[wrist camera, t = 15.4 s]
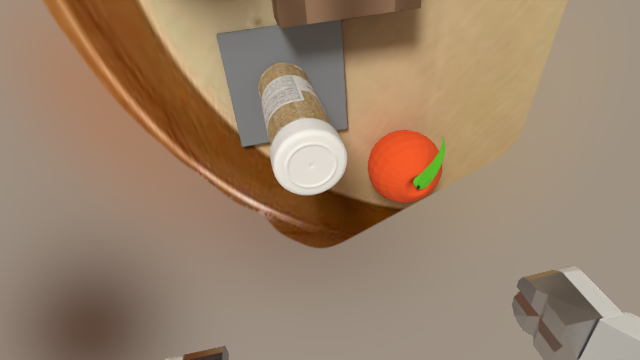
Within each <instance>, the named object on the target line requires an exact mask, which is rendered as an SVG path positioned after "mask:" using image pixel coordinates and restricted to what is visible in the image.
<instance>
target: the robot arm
mask: <svg viewBox="0 0 640 360" xmlns="http://www.w3.org/2000/svg"><path fill="white" fill-rule="evenodd" d="M517 287H518V289H519V290H520V292H518V293H517V294H516V296H514V298H513V303H512V307H513V311H514V315H515V317H516V320H517V322H518V323H519V325H520V326H521V328H522V329H523V330H524V331H525V332H527V333H529V334H531V335H532V336H533V345H534V347H535V348H536V349H537V351H538V352H539V353H540V355H541V356H542V358H543V359H544V360H640V318H639V317H637V316H635V315H632V314H631V313H629V312H627V313H622V312H621V311H620V310H619V309H618V308H617V307H616V306H615V305H614V304H613V303H612V302H611V301H610V300H609V299H608V298H607V297H606V296H605V295H604V294H603V293H602V291H601V290H600V289H598V288H597V286H596V285H595V284H593V282H592V281H591V280H590V279H589V278H588V277H587V276H586V275H585V274H584V273H583V272H582V271H581V270H580V269H578V268H577V267H575V266H569V267H566V268H561V269H557V270H551V271H547V272H543V273H539V274H535V275H530V276H527V277H522V278H521V279H520V280H519V281H518V284H517ZM165 360H229V354H228V351H227V348H226V346H222V347H218V348H213V349H209V350H205V351H199V352H195V353H190V354H184V355H180V356H176V357H171V358H167V359H165Z"/></svg>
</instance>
